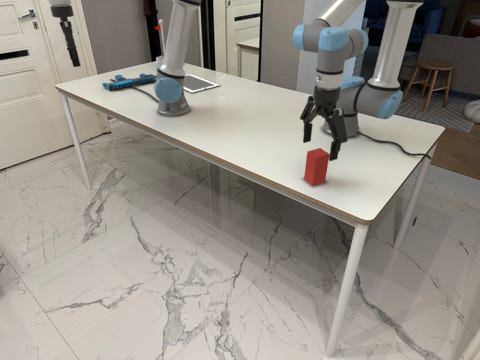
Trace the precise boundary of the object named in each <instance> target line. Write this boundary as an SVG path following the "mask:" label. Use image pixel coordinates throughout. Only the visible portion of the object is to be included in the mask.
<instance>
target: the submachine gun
mask: <svg viewBox="0 0 480 360" xmlns="http://www.w3.org/2000/svg"><path fill="white" fill-rule="evenodd" d="M156 78H157V74H156V75H155V74H152V73H150V74H146V73H140V74H139V77H134V78H126V77H123V75H122V74H117V75H114V80H116V81H117V82H114V81H112V82H102V83H101V85H102V87H103V88H105V89H106V90H107V91H109V90H113V91H114V90H115V89H116V90H118V89H119V90H122V88H126V87H128V86H134V85H140V84H144V83H149V82H151V83H152V82H155V81H156ZM154 80H155V81H154Z"/></svg>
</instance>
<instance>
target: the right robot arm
mask: <svg viewBox="0 0 480 360" xmlns="http://www.w3.org/2000/svg"><path fill="white" fill-rule="evenodd" d="M365 1H366V2H367V0H332V1H331V2H330V3H329V4H328V5H327V6H325V8H324V9H323V10H322V11H321V12H320V13H319V14H318V15H317V16H316V17H315V18H314V19H313V21H311V22H310V23H309V24H306V23H304V24H303V23H302V24H299V25H297V26H296V27H295V29H294V30H293V34H292V45H293V46H294V48H295V49H297V50H300V51H304V52H309V53H315V54H317V60H316V68H315V76H314V77H315V78H314V85H315V86H314V87H313V95H312V94H311V95H309V96H308V97H307V102H306V104H305V106H304V108H303V110H302V112H301V114H300V116H299V119H300V120H301V121H302V123H303V135H302V136H303V137H302V143H303V144H306V143H309V142H312V134H313V133H312V132H313V125H314V124H313V123H312V122H313V120H315V118H316V117H318V116H320V117H321V118H322V119H324V123H323V126H322V130H323V132H324V133H325V134H326V135H329V136H331V137H332V141H331V143H330V150H329V154H330V155H329V161H328V162H333V161H336V160H338V159H339V157H338V156H339V152H340V151H341V147H342V144H344V143H347V142H348V139H349V138H354V137H356V136H357V135H360V136H362V137H364V138H367V139H369V140H371V141H373V142H377V143H381V144H382V143H383V144H391V145H395V146H396V147H398V148H399V149H400V151H402V153H404V154H405V155H408V156H411V157H412V156H414V157H416V156H417V157H418V156H421V157H426V158H427V159H428V160H432V157H431V156H430V155H429V154H428V153H422V152H419V153H418V152H417V153H412V152H409V151H406V150H405V149H404V148H403V146H402V145H400V143H397V142H395V141H391V140H380V139H377V138H373V137H372V136H370V135H367V134H365V133H362V132H361V131H360V125H359V118H358V117H359V116H358V114H362V115H366V116H368V117H372V118H375V119H381V120H388V119H391V118H392V117H393V115H395V113H396V112H397V110H398V108H399V106H400V105H401V102H402V100H403V95H404V92H403V91H402V90H400V86H401V84H400V82H399V81H398V78H399V74H400V70H401V67H402V63H403V59H404V56H405V52H406V49H407V46H408V41H409V38H410V34H411V30H412V26H413V22H414V19H415V15H416V11H417V9H419V7H421V6H422V5H423V4H424V1H425V0H386V3H387V5H388V7H389V8H388V13H387V17H386V22H385V26H384V29H383V34H382V38H381V43H380V46H379V51H378V55H377V59H376V64H375V68H374V72H373V76H372V77H371V78H370V79H369V80H367V83H365V82H366V81H365V78H364V77H362V76H354V75H353V76H352V75H351V76H344V70H345V69H344V68H345V64H346V63H345V62H346V61H348V60H351V59H353V58H356V57H358V56H360V54H363V53H364V52H365V51H366V49H367V48H368V45H369V36H368V34H367V32H366V31H364V30H363V29H361V28H351V29H348V28H346V27H341V26H343V24H345V22H346V21H347V20H348V19H349V18H350V16H351V15H352V14H353V13H354V12H355V11H356V10H357V9H358V8H359V7H360V6H361V5H362V4H363V3H364V2H365ZM417 219H418V216H416V217H414V218H413V222H412V224H411V225H412V227H415V225H416V222H417Z"/></svg>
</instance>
